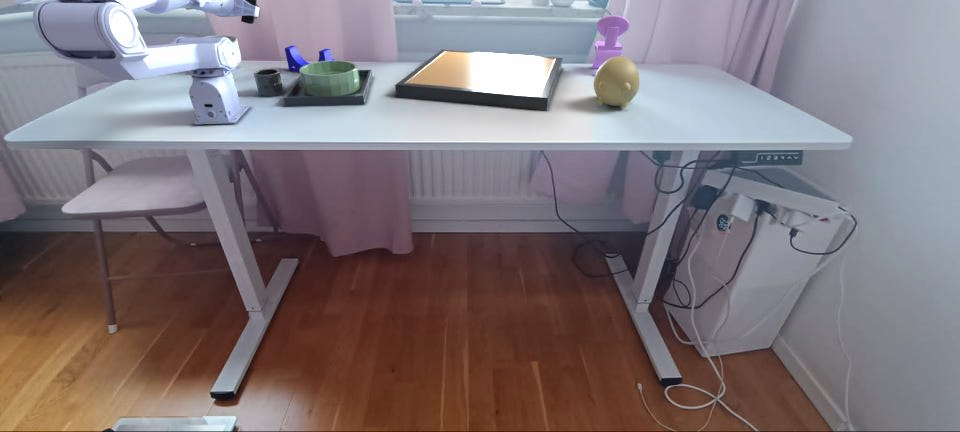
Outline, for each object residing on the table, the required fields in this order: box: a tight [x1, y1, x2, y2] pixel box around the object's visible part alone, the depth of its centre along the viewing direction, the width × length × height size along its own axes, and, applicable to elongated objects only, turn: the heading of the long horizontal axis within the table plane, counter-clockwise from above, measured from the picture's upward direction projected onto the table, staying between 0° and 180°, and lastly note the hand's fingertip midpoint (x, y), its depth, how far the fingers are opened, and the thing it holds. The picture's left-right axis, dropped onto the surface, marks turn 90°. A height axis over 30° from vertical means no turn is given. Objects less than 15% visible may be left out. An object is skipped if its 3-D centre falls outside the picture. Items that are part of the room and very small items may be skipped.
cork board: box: [394, 49, 563, 112], centre depth 118 cm, size 36×3×35 cm
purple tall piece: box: [591, 14, 630, 76], centre depth 123 cm, size 8×9×15 cm
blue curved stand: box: [284, 45, 336, 73], centre depth 124 cm, size 12×4×6 cm, turn 73°
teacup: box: [200, 34, 242, 71], centre depth 123 cm, size 14×11×8 cm
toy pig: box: [593, 55, 641, 109], centre depth 103 cm, size 10×12×11 cm
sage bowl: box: [299, 59, 360, 96], centre depth 110 cm, size 13×13×6 cm
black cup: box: [253, 68, 285, 98], centre depth 108 cm, size 6×6×5 cm
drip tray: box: [283, 69, 373, 107], centre depth 111 cm, size 21×17×2 cm
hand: (241, 7), depth 104 cm, fingers open, 7 cm apart
